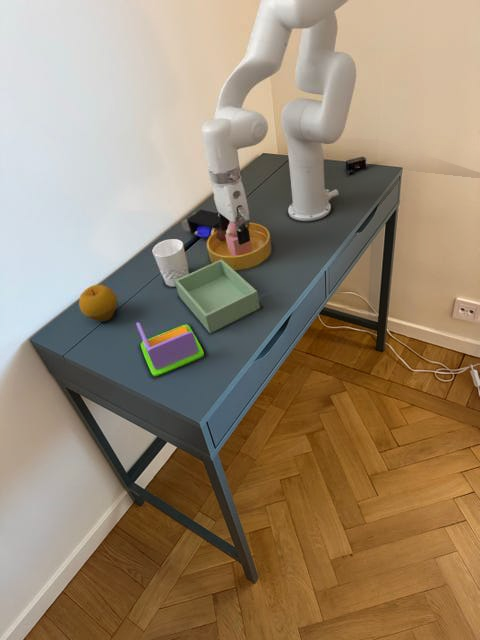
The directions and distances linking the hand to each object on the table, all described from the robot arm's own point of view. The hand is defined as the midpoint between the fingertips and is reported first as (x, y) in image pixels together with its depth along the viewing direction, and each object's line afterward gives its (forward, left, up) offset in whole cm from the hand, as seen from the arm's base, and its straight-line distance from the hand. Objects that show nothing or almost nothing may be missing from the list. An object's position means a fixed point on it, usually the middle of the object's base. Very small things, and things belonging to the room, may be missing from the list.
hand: (235, 235), depth 123 cm
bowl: (-1, 0, -6) cm, 6 cm away
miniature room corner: (+30, +23, -6) cm, 39 cm away
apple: (+39, +1, -6) cm, 40 cm away
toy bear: (-1, 0, -6) cm, 6 cm away
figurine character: (+2, -14, -6) cm, 15 cm away
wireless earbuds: (-54, -16, -6) cm, 57 cm away
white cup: (+18, -1, -6) cm, 19 cm away
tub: (+14, +15, -6) cm, 22 cm away
